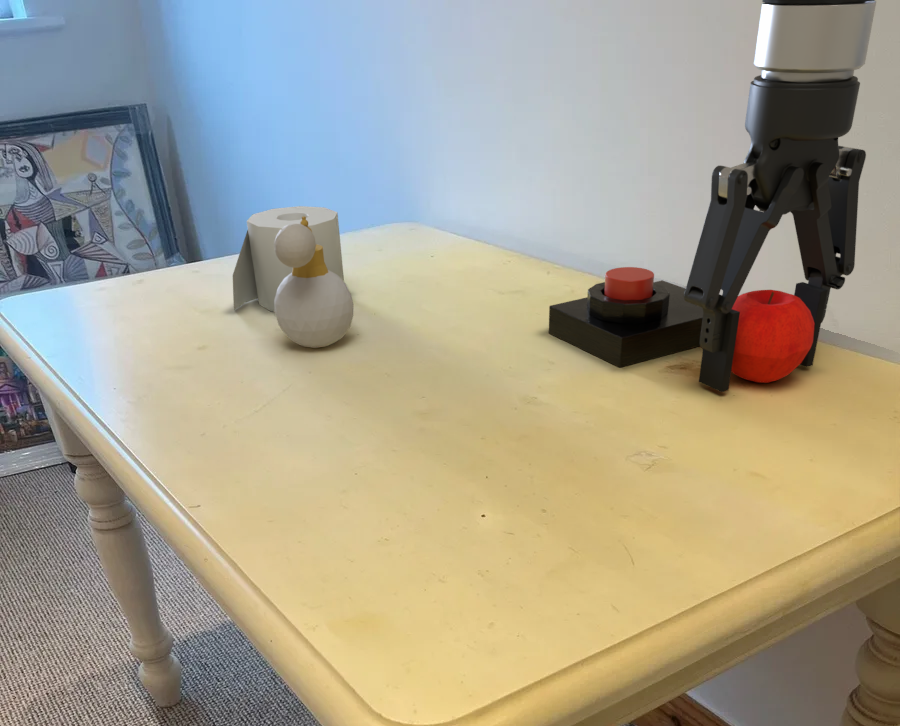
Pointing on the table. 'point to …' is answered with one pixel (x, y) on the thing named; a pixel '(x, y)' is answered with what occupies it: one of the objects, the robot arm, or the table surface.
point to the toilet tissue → (258, 259)
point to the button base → (629, 324)
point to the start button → (629, 283)
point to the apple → (770, 335)
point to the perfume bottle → (309, 291)
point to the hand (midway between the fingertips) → (756, 373)
